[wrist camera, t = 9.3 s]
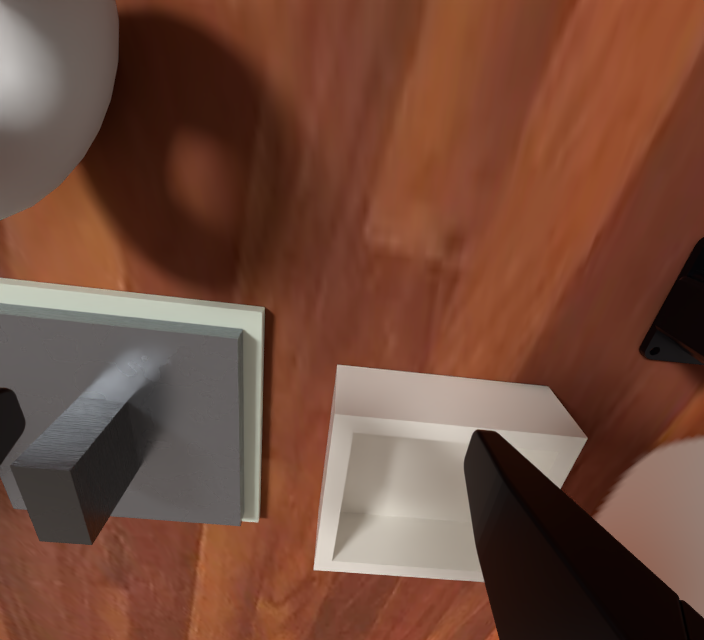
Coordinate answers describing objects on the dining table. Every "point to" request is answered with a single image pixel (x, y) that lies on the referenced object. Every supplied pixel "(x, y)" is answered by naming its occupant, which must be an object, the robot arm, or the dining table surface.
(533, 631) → the robot arm
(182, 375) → the lid
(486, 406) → the dish
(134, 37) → the dining table surface
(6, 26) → the donut
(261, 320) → the mat
